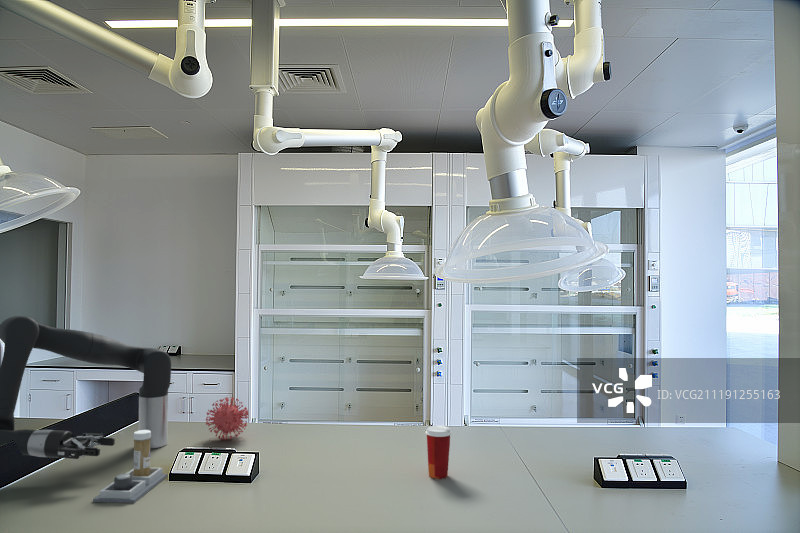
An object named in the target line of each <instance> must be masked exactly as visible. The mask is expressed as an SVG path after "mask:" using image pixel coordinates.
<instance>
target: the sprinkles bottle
mask: <svg viewBox="0 0 800 533" xmlns="http://www.w3.org/2000/svg"><path fill="white" fill-rule="evenodd" d="M150 438H151V431H150V430H139V429H138V430H136V431H134V432H133V438H132V439H133V468H134V476H146V477H148V476H149V475H150V467H151V448H150Z"/></svg>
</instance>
